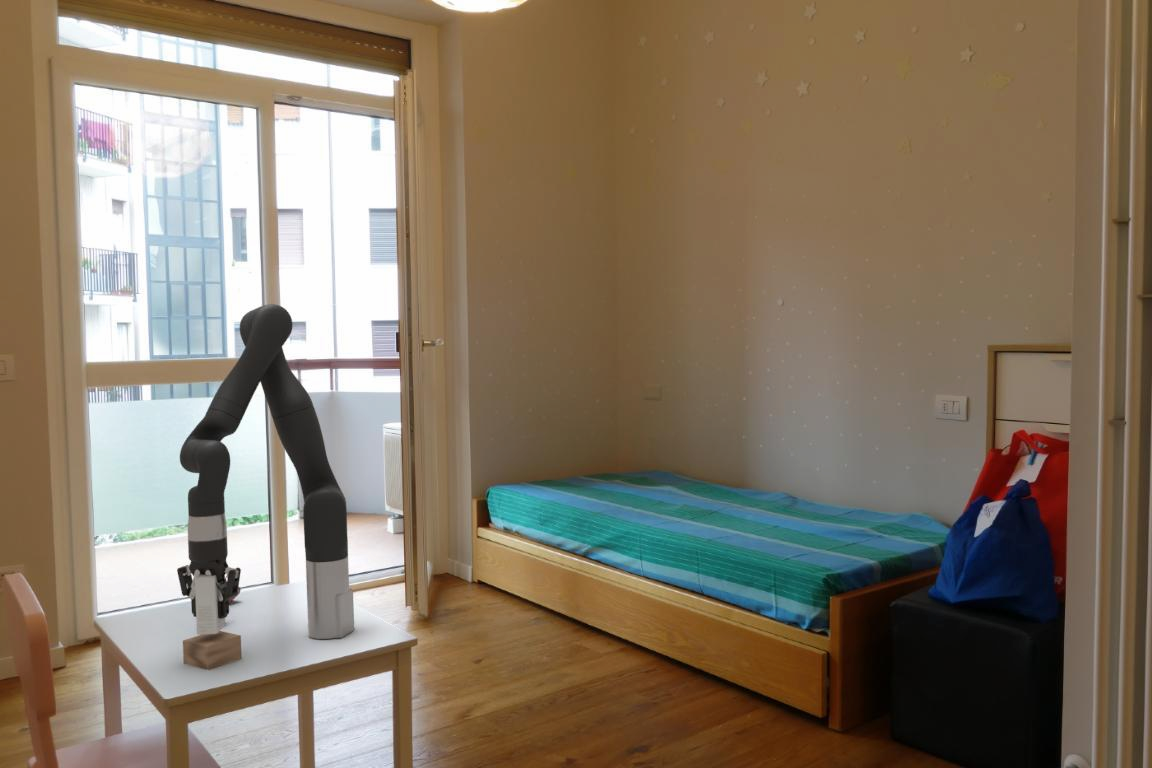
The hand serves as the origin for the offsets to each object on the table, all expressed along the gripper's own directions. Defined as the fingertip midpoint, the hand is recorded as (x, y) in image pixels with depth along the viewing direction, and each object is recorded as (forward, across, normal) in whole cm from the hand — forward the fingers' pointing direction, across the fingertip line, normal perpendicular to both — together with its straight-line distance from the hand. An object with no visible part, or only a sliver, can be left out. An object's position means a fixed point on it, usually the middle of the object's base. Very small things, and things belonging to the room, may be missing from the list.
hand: (210, 616), depth 189 cm
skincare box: (+3, 0, 0) cm, 3 cm away
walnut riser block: (+9, 0, 0) cm, 9 cm away
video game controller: (+10, +25, -36) cm, 45 cm away
